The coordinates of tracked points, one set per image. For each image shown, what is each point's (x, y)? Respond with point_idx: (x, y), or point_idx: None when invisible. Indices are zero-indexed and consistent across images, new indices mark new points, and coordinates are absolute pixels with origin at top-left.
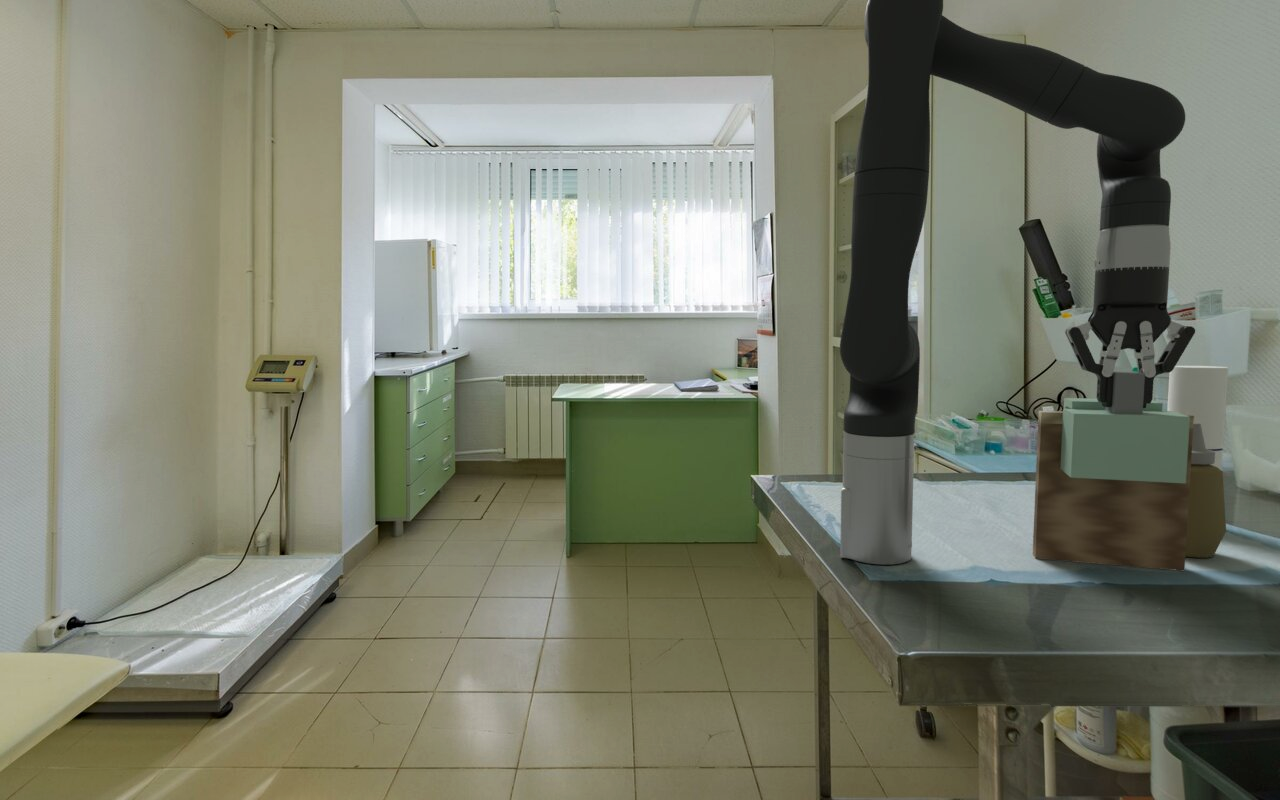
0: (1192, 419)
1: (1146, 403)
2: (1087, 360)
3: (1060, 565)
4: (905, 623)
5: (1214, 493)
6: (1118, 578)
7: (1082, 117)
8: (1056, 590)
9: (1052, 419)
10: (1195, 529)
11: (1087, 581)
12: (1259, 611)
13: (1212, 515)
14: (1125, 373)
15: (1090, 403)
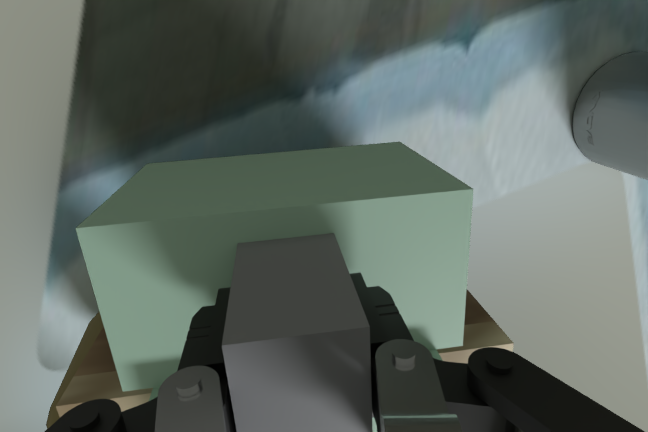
0: (65, 395)
1: (217, 293)
2: (541, 393)
3: None
4: None
5: (81, 360)
6: (274, 131)
7: None
8: (378, 24)
9: (470, 333)
10: None
11: (323, 95)
12: (93, 32)
13: (100, 326)
14: (322, 329)
15: None
